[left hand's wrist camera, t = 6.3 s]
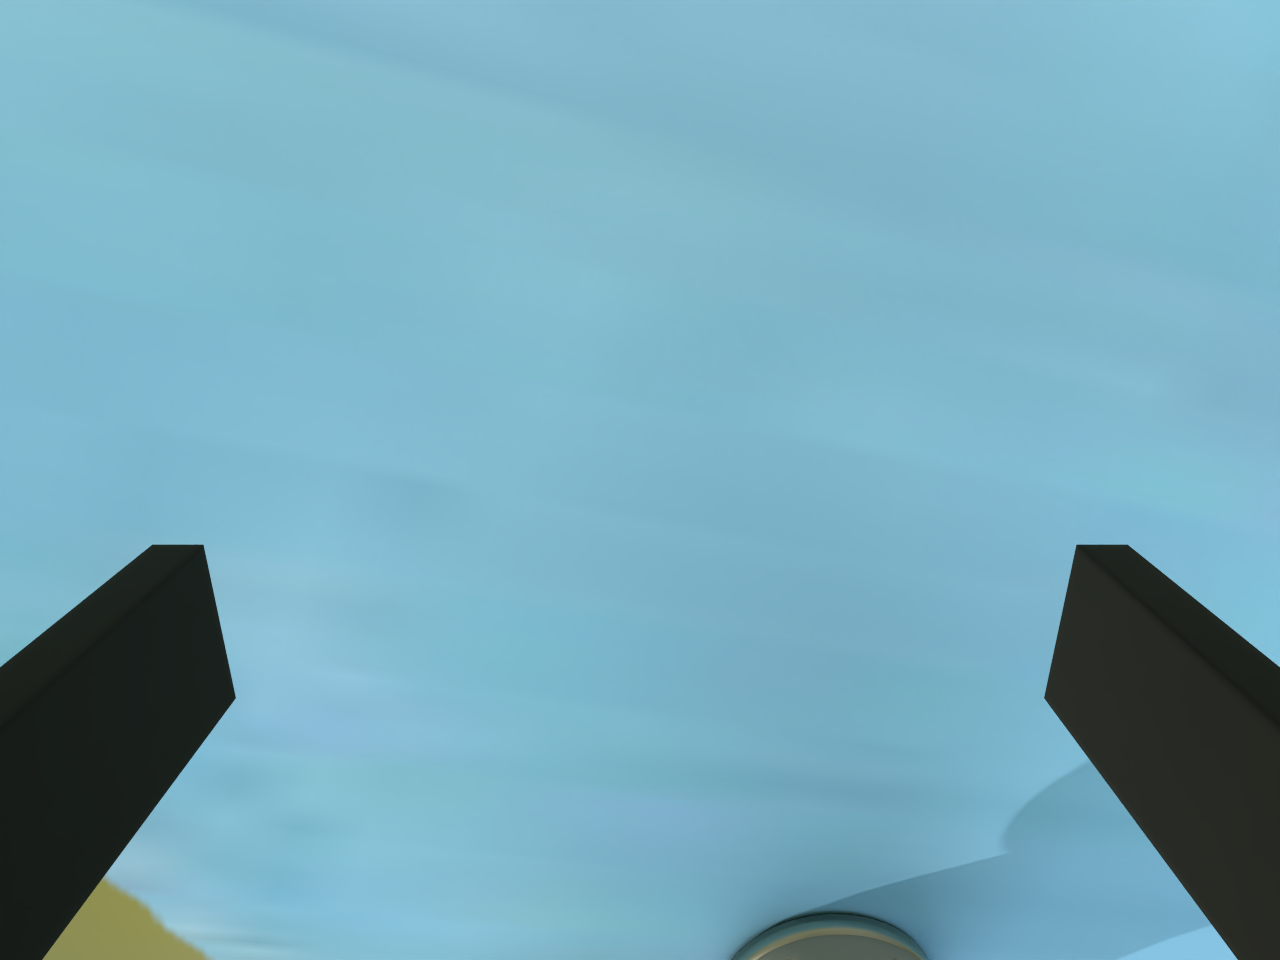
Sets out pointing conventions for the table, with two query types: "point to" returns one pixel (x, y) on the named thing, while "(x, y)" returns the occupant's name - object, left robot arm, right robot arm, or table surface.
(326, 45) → the table surface
